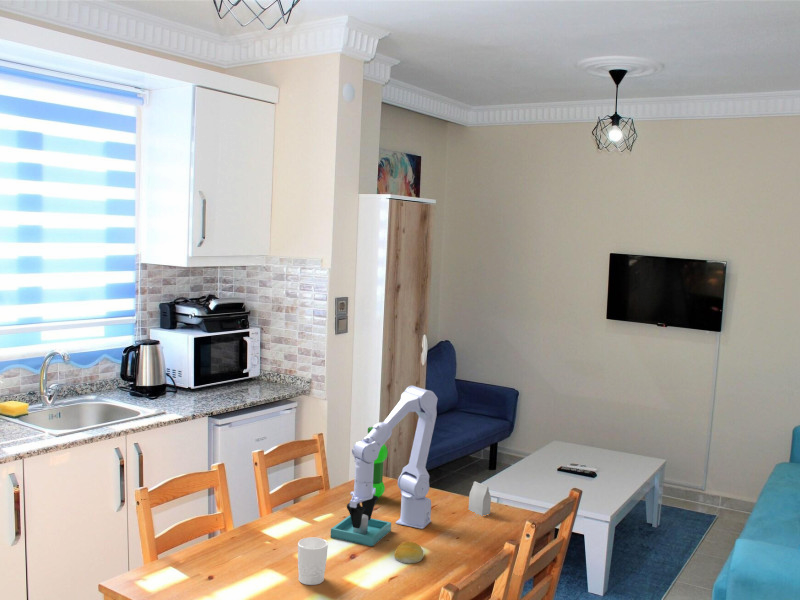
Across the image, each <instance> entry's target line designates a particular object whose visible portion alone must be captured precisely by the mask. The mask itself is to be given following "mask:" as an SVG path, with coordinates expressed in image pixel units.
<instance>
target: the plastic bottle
mask: <svg viewBox="0 0 800 600" xmlns="http://www.w3.org/2000/svg"><path fill="white" fill-rule="evenodd" d="M373 428H374V427H373V426H369V427H367V435H368V434H369V432H370V431H371V430H372V429H373ZM385 444H386V443H384V445H383V446H382V447H381V449H380V451H379V455H378V458H377V459H376V460H375V461H374V473H373V488H376V491H375V495H374V496H377V497H378V499H379V498H380V497H382V495H383V494H385V489H386V487H385V483H384V481H383V477H384V476H383V475H384V462H385V461H386V459H387V458H388V454H389V453H388V451H389V450H388V447H387V446H386V445H385Z"/></svg>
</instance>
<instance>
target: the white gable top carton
mask: <svg viewBox="0 0 800 600" xmlns="http://www.w3.org/2000/svg"><path fill="white" fill-rule="evenodd" d="M491 503H492V498H491V493H490V490H489V486H487V485H484V484H482V483H479V482H478V481H473V484H472V486H471V489H470V491H469V496H468V510H470V511H472V512H475V513H476V514H475V513H474V514H475V515H477V514H479V515H481V516H483V515H487V514H490V515H491V506H492V505H491ZM470 511H469V512H470ZM472 512H471V513H472ZM479 515H478V516H479ZM481 516H480V517H481Z"/></svg>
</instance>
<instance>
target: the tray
mask: <svg viewBox="0 0 800 600" xmlns="http://www.w3.org/2000/svg"><path fill="white" fill-rule="evenodd" d="M391 531H392V522H391V521H386V520H380V519H375V518H372V517H371V519H370V520H368V533H367V534H365V535H363V534H358V533H353V525H352V520H351V516H350V514H349V515H347V517H345V518H344V519H342V520H341V521H339V522H338V523H337V524H335V525H334V526H333V527H331V528H330V538H331V539H337V540H341V541H345V542H348V543H349V542H350V543H354V544H359V545H362V546H368V547H374V546H375V545H376V544H377V543H379V542H380V541H381V540H382V539H384V537H386V535H388V534H389V533H390V532H391Z"/></svg>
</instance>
